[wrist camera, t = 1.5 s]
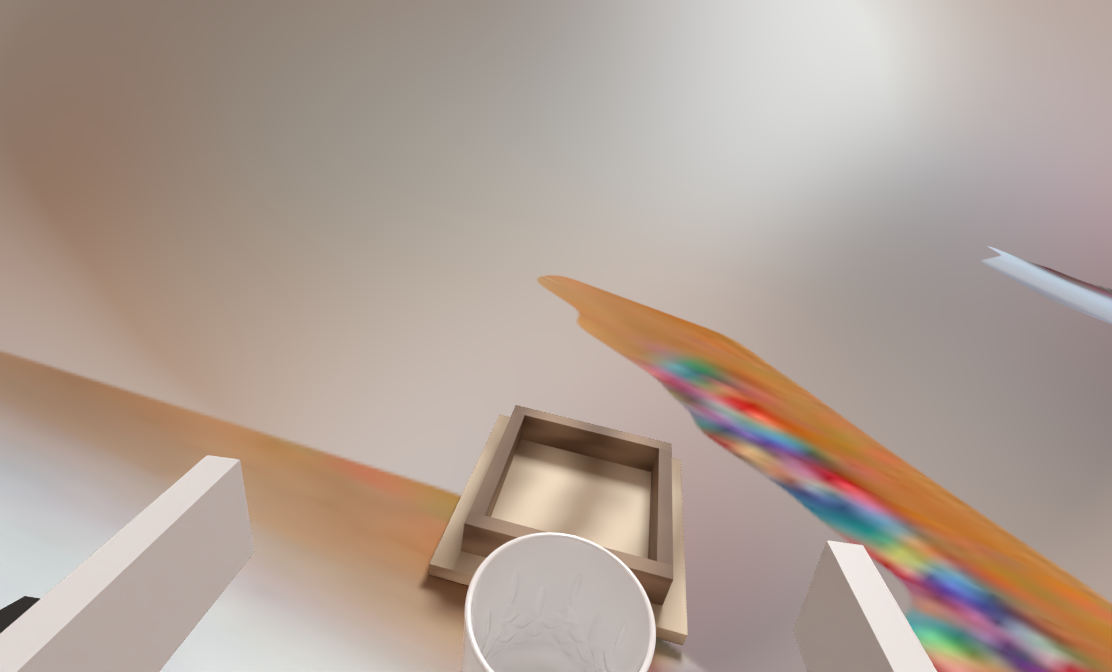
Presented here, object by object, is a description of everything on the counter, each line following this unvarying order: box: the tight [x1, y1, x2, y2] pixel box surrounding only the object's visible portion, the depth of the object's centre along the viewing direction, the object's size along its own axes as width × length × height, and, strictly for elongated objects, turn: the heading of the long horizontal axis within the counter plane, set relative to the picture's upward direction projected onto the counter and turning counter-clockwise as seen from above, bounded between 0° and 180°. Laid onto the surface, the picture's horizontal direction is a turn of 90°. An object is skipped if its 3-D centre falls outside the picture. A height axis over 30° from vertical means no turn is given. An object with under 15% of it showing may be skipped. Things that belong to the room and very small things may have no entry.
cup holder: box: [429, 405, 687, 645], centre depth 39 cm, size 16×16×4 cm
